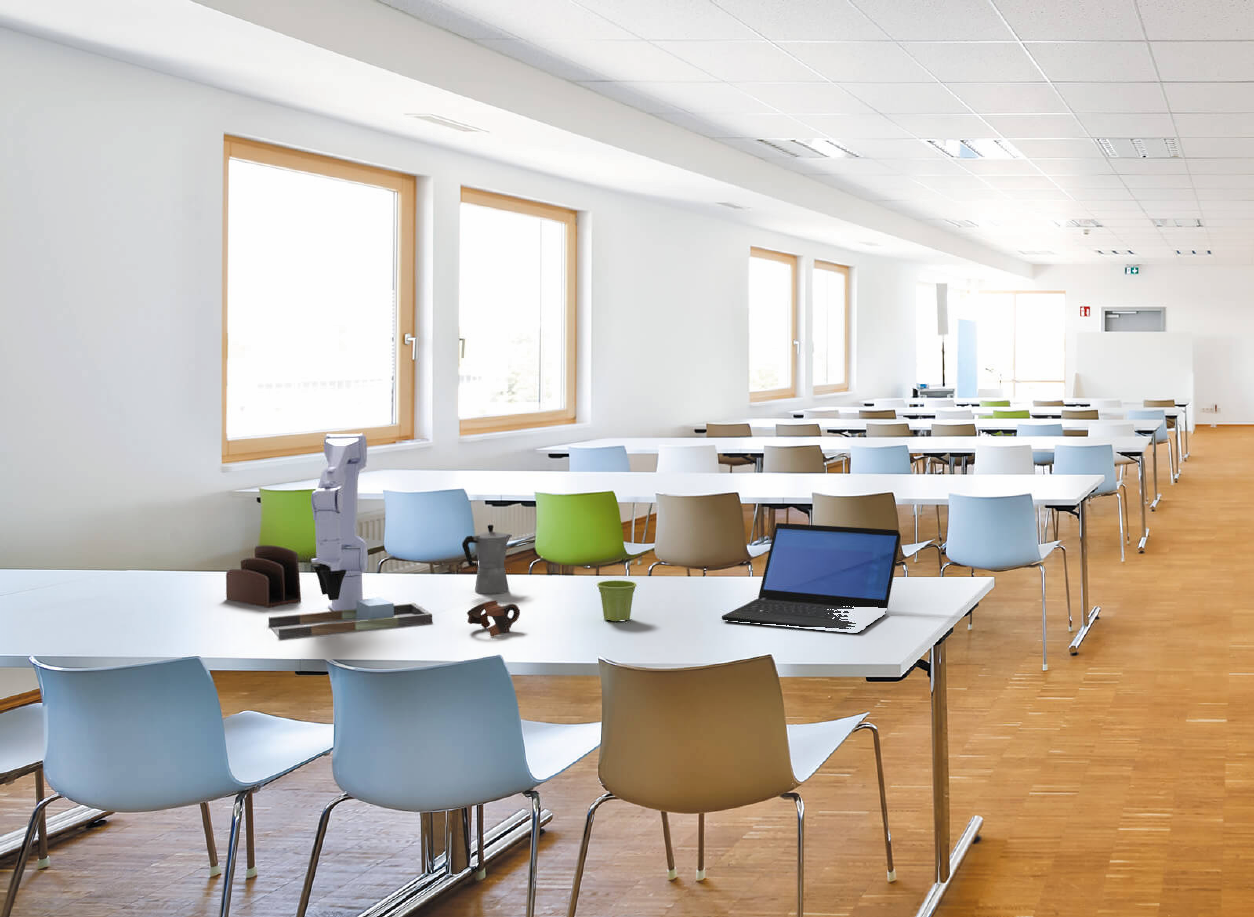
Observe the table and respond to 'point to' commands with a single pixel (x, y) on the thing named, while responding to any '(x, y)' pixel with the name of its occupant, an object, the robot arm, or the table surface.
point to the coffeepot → (489, 560)
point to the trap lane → (293, 627)
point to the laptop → (822, 575)
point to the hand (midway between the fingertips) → (330, 596)
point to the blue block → (374, 609)
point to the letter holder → (266, 578)
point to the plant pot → (616, 599)
